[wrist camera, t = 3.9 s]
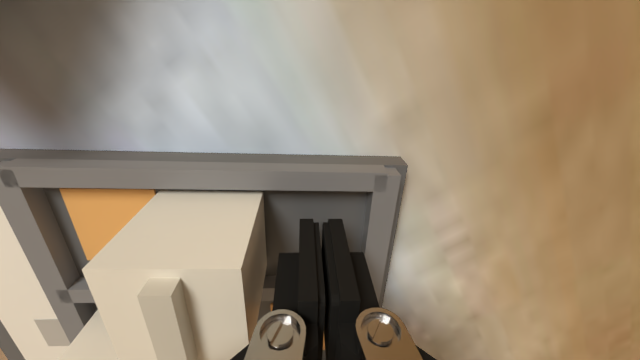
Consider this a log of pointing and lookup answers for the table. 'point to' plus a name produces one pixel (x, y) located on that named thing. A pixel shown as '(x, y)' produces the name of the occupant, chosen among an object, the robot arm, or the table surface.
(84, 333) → the cream block with ridge
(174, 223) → the cream block with bar
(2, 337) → the switch bank
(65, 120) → the table surface
